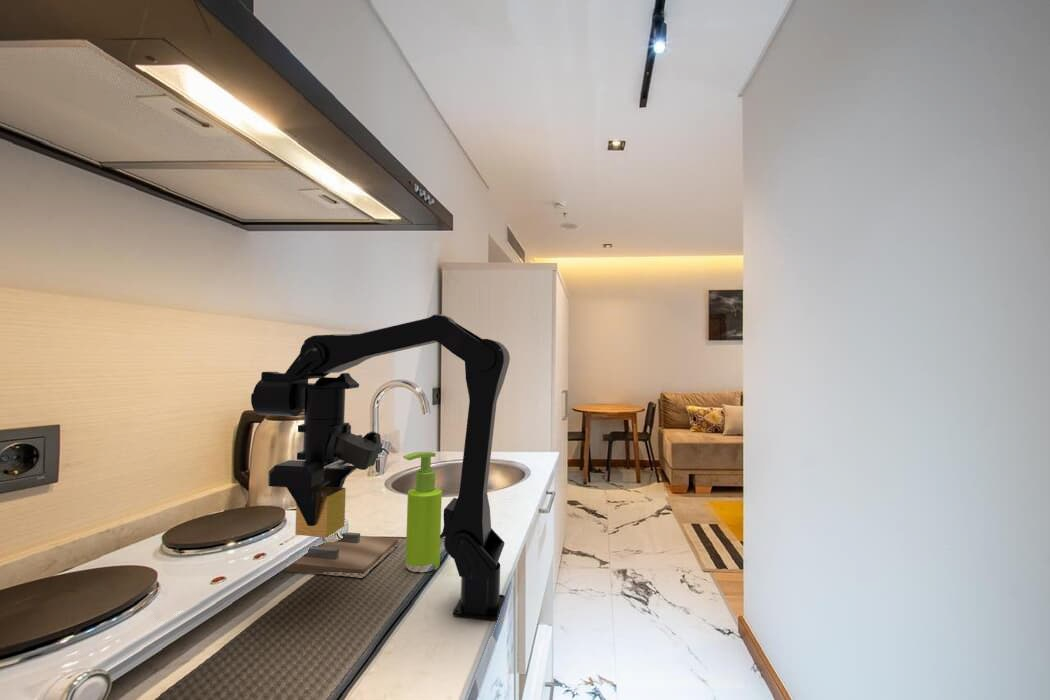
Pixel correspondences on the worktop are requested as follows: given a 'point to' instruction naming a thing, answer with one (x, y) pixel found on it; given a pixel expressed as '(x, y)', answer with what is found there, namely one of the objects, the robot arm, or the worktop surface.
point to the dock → (344, 555)
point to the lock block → (325, 514)
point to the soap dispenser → (423, 515)
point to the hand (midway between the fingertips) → (321, 519)
